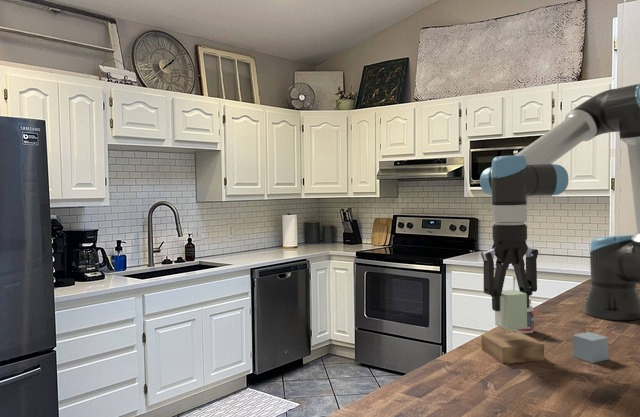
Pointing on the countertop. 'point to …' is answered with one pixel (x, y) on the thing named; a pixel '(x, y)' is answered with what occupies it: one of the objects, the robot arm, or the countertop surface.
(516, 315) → the sage block
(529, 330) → the pill bottle
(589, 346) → the slate cube
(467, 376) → the countertop surface
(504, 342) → the walnut slab
